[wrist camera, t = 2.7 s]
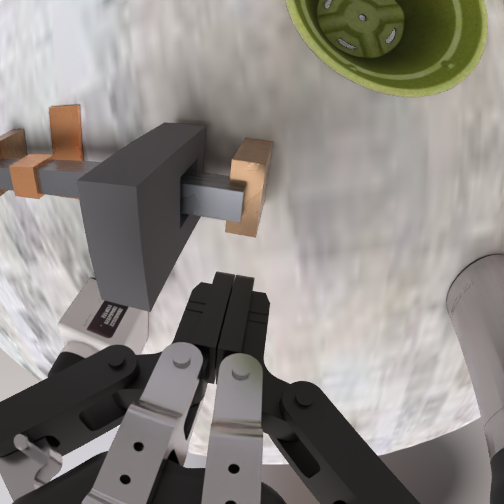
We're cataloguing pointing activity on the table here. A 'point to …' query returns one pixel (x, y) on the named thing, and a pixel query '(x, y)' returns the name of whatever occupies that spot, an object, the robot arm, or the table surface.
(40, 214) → the table surface
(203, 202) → the rail
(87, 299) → the container
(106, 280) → the collar
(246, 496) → the robot arm
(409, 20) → the plant pot
